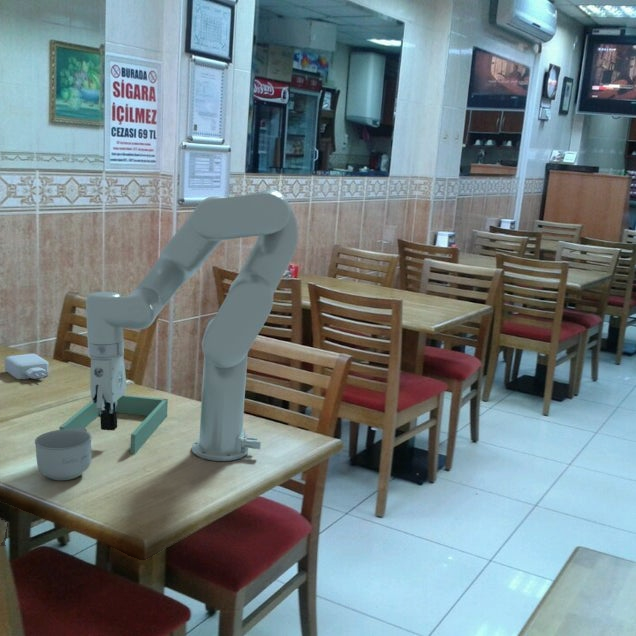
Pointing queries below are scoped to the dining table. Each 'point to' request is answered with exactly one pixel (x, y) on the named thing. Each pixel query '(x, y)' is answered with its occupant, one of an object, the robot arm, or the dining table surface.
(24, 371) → the charger
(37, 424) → the dining table surface
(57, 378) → the dining table surface
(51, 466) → the teacup
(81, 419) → the green u-shaped border
